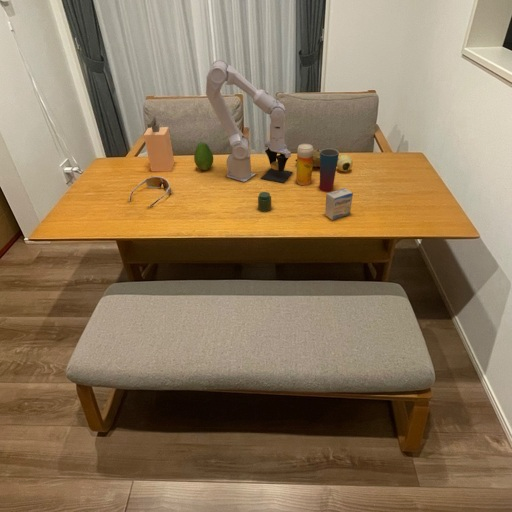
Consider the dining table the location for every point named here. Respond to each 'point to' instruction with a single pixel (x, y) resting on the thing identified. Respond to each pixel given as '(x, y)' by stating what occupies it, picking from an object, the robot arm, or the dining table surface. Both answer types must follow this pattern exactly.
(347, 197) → the medicine box
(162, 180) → the sunglasses
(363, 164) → the dining table surface
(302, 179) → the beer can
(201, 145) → the fruit
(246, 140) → the robot arm
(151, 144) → the soap dispenser
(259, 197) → the jar
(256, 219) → the dining table surface
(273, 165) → the lid
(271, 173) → the coaster
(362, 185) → the dining table surface
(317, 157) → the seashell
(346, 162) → the cream rounded piece
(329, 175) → the cup
